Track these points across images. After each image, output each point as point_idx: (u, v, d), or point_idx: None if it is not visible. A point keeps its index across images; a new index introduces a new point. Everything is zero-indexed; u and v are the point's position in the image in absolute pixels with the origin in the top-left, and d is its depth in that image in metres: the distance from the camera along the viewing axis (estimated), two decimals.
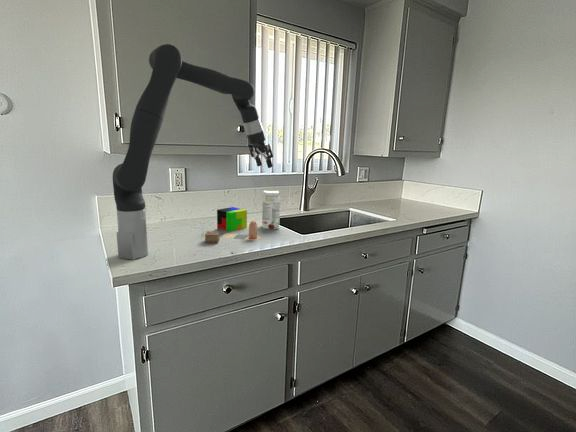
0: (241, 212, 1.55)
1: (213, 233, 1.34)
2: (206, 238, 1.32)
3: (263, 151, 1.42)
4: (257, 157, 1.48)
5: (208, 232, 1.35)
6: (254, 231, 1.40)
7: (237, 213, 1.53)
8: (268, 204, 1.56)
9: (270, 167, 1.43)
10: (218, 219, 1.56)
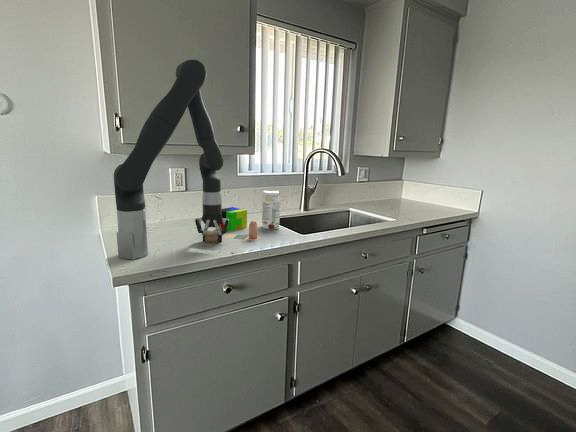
0: (241, 212, 1.55)
1: (213, 233, 1.34)
2: (206, 237, 1.32)
3: (217, 225, 1.34)
4: None
5: (208, 232, 1.35)
6: (254, 231, 1.40)
7: (237, 213, 1.53)
8: (268, 204, 1.56)
9: None
10: None
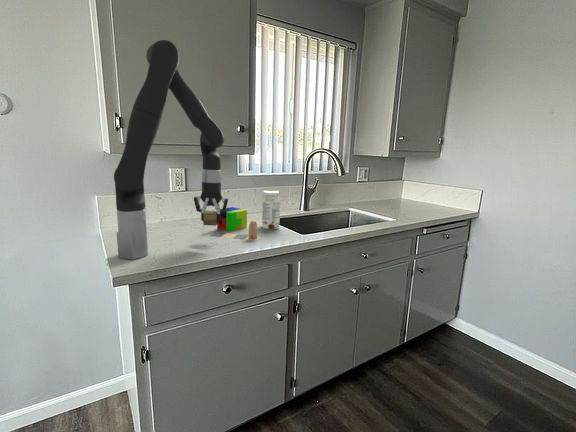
0: (241, 212, 1.55)
1: (212, 212, 1.32)
2: (205, 216, 1.30)
3: (216, 204, 1.32)
4: (204, 211, 1.33)
5: (207, 211, 1.33)
6: (254, 231, 1.40)
7: (237, 213, 1.53)
8: (268, 204, 1.56)
9: (218, 222, 1.34)
10: None
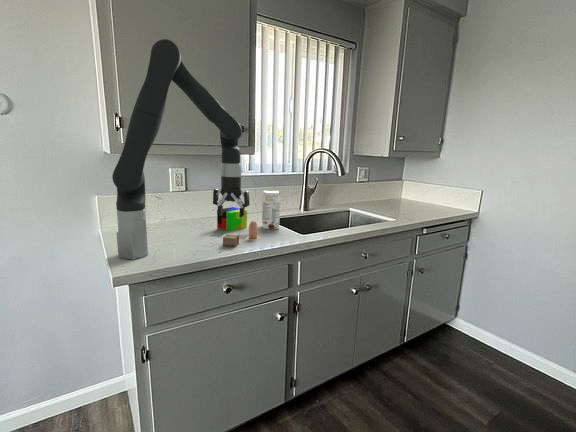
0: None
1: (231, 236, 1.30)
2: (224, 241, 1.29)
3: (237, 198, 1.27)
4: (221, 205, 1.29)
5: (227, 235, 1.32)
6: (254, 231, 1.40)
7: (237, 213, 1.53)
8: (268, 204, 1.56)
9: None
10: (218, 219, 1.56)
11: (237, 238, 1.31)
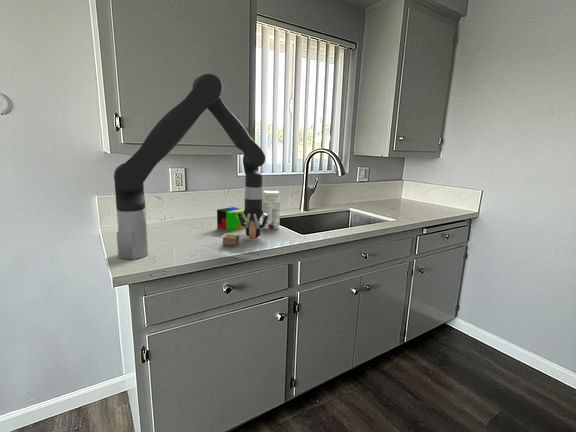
0: None
1: (231, 236, 1.30)
2: (224, 241, 1.29)
3: None
4: None
5: (227, 235, 1.32)
6: (253, 231, 1.40)
7: (237, 213, 1.53)
8: (268, 204, 1.56)
9: (258, 236, 1.41)
10: (218, 219, 1.56)
11: (237, 238, 1.31)
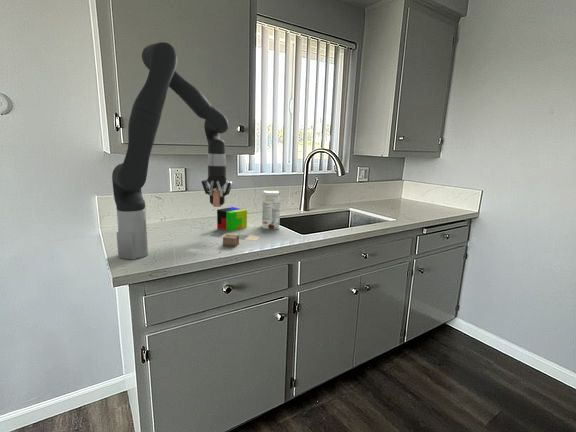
0: (241, 212, 1.55)
1: (231, 236, 1.30)
2: (224, 241, 1.29)
3: None
4: None
5: (227, 235, 1.32)
6: (217, 199, 1.40)
7: (237, 213, 1.53)
8: (268, 204, 1.56)
9: (222, 204, 1.42)
10: (218, 219, 1.56)
11: (237, 238, 1.31)
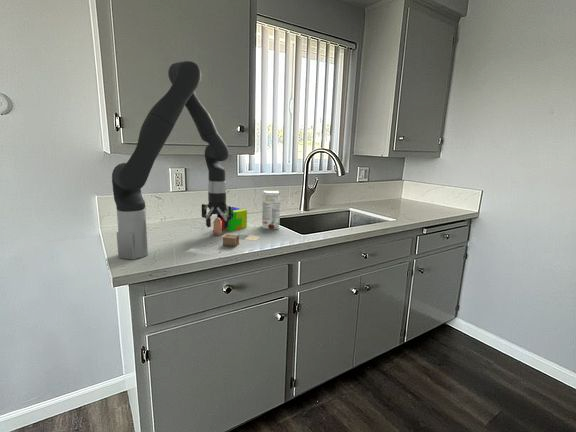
0: (241, 212, 1.55)
1: (231, 236, 1.30)
2: (224, 241, 1.29)
3: (222, 212, 1.42)
4: (209, 218, 1.45)
5: (227, 235, 1.32)
6: (217, 228, 1.43)
7: (237, 213, 1.53)
8: (268, 204, 1.56)
9: (226, 228, 1.44)
10: None
11: (237, 238, 1.31)
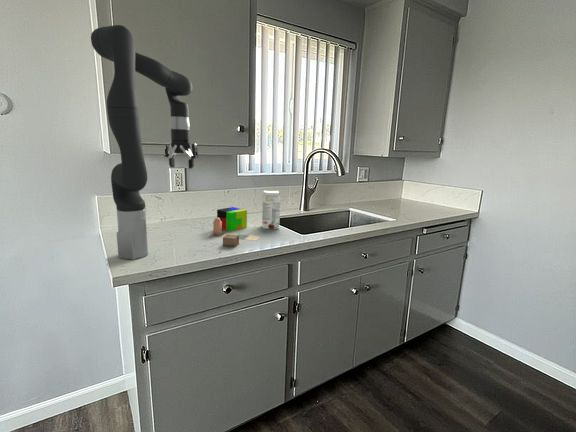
0: (241, 212, 1.55)
1: (231, 236, 1.30)
2: (224, 241, 1.29)
3: (186, 150, 1.37)
4: (172, 157, 1.39)
5: (227, 235, 1.32)
6: (217, 228, 1.43)
7: (237, 213, 1.53)
8: (268, 204, 1.56)
9: (191, 168, 1.38)
10: None
11: (237, 238, 1.31)
